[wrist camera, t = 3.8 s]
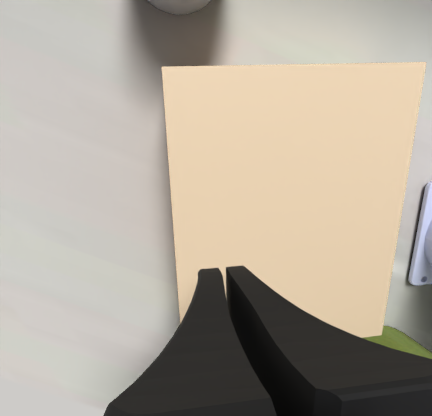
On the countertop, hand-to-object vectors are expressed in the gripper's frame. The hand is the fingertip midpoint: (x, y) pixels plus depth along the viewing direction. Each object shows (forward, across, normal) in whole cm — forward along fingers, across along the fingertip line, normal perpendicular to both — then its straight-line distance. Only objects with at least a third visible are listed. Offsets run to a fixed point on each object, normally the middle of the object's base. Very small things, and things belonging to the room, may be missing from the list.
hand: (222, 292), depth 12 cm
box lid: (+6, -4, 0) cm, 7 cm away
